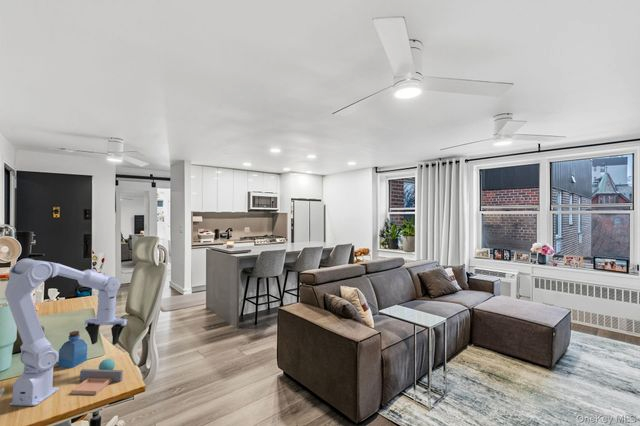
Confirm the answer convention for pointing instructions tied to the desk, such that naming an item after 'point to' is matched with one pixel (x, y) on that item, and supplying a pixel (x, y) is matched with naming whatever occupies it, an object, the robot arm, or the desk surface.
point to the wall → (101, 374)
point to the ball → (107, 364)
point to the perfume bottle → (73, 351)
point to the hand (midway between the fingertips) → (104, 343)
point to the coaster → (91, 386)
